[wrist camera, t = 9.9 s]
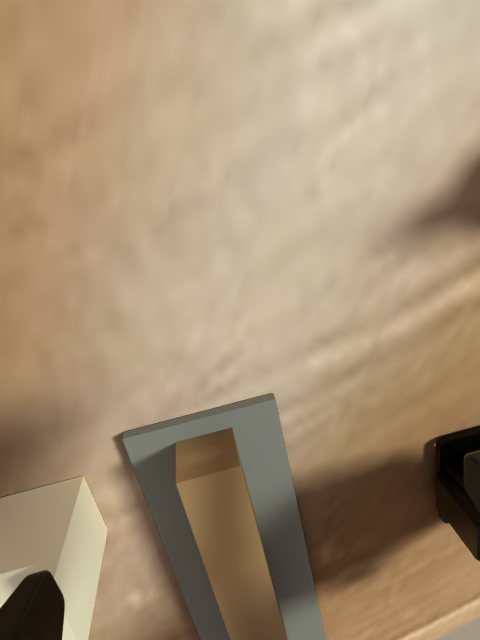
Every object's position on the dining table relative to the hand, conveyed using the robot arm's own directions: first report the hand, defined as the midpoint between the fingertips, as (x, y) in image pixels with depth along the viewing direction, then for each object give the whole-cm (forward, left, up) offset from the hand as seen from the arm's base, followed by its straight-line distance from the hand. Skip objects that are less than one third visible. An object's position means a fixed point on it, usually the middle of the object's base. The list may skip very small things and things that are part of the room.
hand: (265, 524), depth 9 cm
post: (+12, +9, -12) cm, 20 cm away
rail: (+2, +17, -12) cm, 21 cm away
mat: (+2, +17, -12) cm, 21 cm away
